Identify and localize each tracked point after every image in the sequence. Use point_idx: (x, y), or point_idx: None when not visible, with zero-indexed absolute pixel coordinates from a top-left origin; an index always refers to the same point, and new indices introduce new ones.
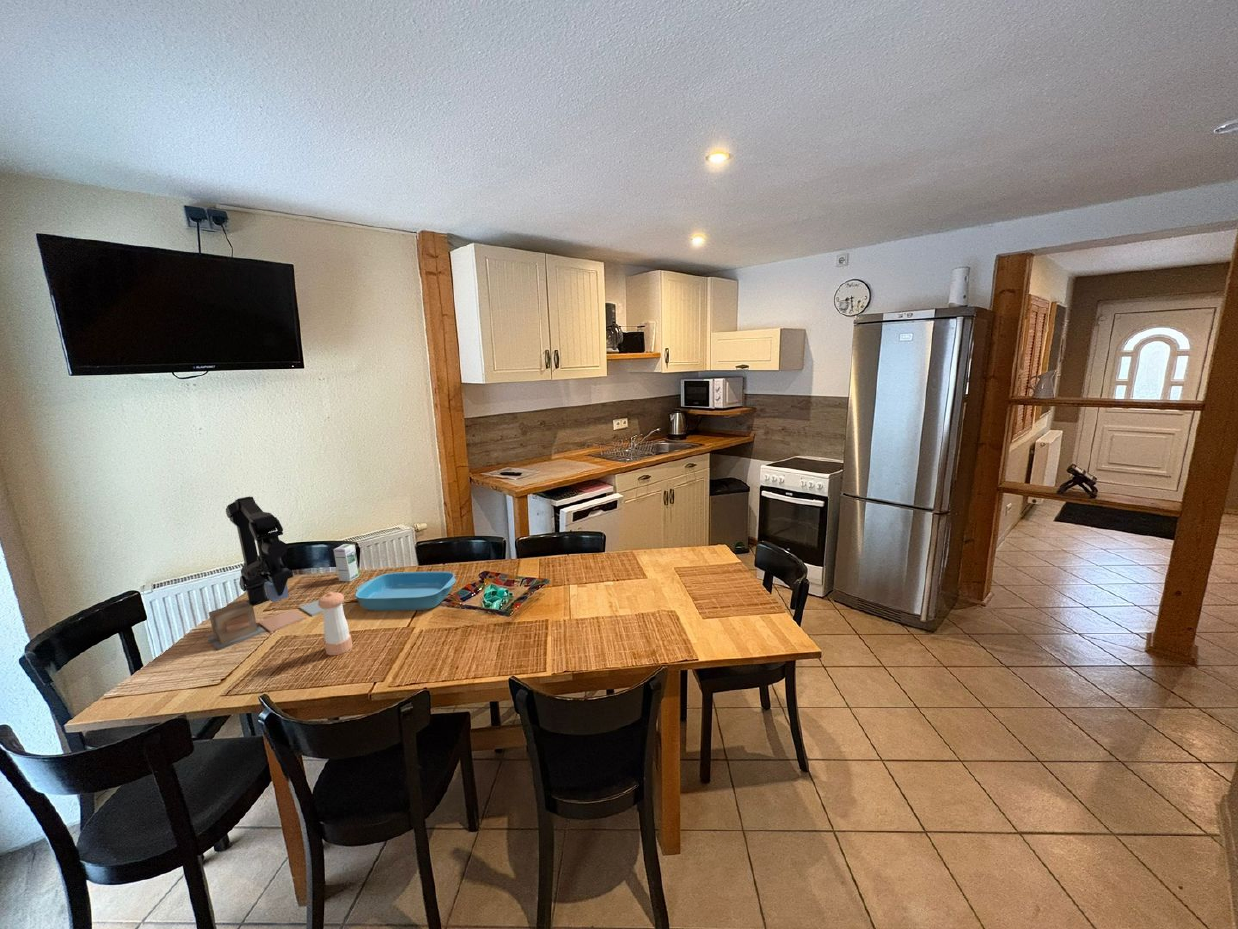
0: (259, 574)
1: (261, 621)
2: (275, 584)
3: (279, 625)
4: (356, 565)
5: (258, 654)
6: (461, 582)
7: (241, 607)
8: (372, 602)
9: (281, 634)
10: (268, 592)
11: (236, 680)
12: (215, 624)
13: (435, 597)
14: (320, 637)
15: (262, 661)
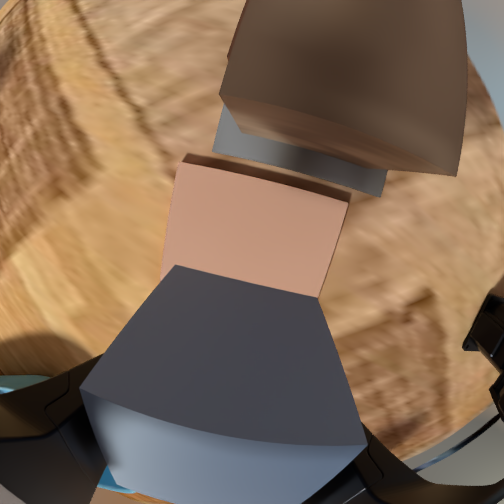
0: (501, 499)
1: (338, 211)
2: (7, 398)
3: (191, 215)
4: None
5: (70, 62)
6: None
7: (320, 41)
8: (15, 382)
9: (117, 174)
10: (241, 332)
11: (36, 8)
12: None
13: None
14: (7, 226)
15: (34, 63)
